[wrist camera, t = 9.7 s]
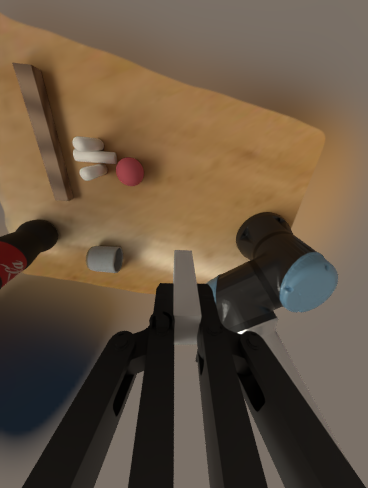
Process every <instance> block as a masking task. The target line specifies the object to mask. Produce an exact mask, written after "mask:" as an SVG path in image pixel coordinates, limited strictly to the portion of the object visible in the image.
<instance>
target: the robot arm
mask: <svg viewBox="0 0 368 488" xmlns="http://www.w3.org/2000/svg"><path fill="white" fill-rule="evenodd" d="M236 244H237V247H238V249H239V250H240V252H241V253H242V254H243V255H244V256H245V257H246V258H248V259H250V260H251V261H248V262H246V263H244V264H242V265H240V266H238V267H236V268H234V269H232V270H230V271H228V272H225V273H223V274H220V275H218V276H217V277H215V278H214V279H212V280H210V281H208V282H207V283H206V284H197V282H196V276H195V269H194V263H193V256H192V251H187V250H175V252H174V272H173V283H160V284H159V286H158V287H157V289H156V297H155V304H154V312H153V314H152V315H151V317H150V320H149V322H150V325H149V326H148V328H146V329H145V330H143V331H141V332H137V333H134V334H132V333H131V332H129V331H121V332H118V333H117V334H115V335H114V336H112V338H111V339H110V340H109V342H108V343H107V345H106V347H105V348H104V350H103V352H102V353H101V355H100V357H99V359H98V360H97V362H96V363H95V365H94V367H93V369H92V370H91V372H90V374H89V376H88V377H87V379H86V380H85V382H84V384H83V385H82V387H81V389H80V390H79V392H78V394H77V396H76V397H75V399H74V401H73V402H72V404H71V406H70V407H69V409H68V411H67V412H66V414H65V416H64V418H63V419H62V421H61V423H60V424H59V426H58V428H57V429H56V431H55V433H54V434H53V436H52V438H51V439H50V441H49V443H48V444H47V446H46V448H45V450H44V451H43V453H42V455H41V457H40V458H39V460H38V462H37V463H36V465H35V467H34V468H33V470H32V471H31V473H30V475H29V477H28V478H27V480H26V482H25V483H24V485H23V487H22V488H94V485H95V483H96V480H97V478H98V475H99V472H100V470H101V467H102V464H103V462H104V459H105V456H106V454H107V451H108V448H109V446H110V443H111V440H112V438H113V435H114V433H115V430H116V428H117V425H118V422H119V419H120V417H121V414H122V412H123V409H124V407H125V404H126V401H127V399H128V396H129V393H130V391H131V388H132V385H133V383H134V380H135V378H136V375H137V373H139V372H142V371H144V376H143V383H142V391H141V398H140V405H139V412H138V419H137V427H136V433H135V441H134V449H133V455H132V463H131V470H130V477H129V484H128V488H173V477H174V476H173V475H174V458H173V457H174V345H196V343H197V346H198V350H197V355H196V362H198V369H199V381H200V391H201V400H202V410H203V421H204V431H205V441H206V452H207V462H208V472H209V482H210V488H268V487H267V483H266V479H265V475H264V472H263V468H262V464H261V461H260V457H259V453H258V450H257V446H256V442H255V438H254V434H253V431H252V427H251V423H250V419H249V416H248V412H247V408H246V404H245V401H246V403H247V405H248V407H249V410H250V412H251V414H252V416H253V418H254V420H255V423H256V425H257V427H258V429H259V431H260V434H261V435H262V438H263V440H264V442H265V445H266V447H267V449H268V451H269V453H270V456H271V458H272V460H273V462H274V464H275V467H276V469H277V471H278V473H279V475H280V478H281V480H282V482H283V484H284V486H285V488H366V487H365V486H364V484H363V483H362V481H361V480H360V478H359V477H358V475H357V474H356V473H355V471H354V470H353V468H352V467H351V465H350V464H349V462H348V460H347V459H346V457H345V455H344V453H343V451H342V450H341V448H340V446H339V444H338V442H337V440H336V439H335V437H334V435H333V433H332V431H331V430H330V428H329V426H328V424H327V422H326V421H325V419H324V417H323V416H322V413H321V412H320V410H319V408H318V406H317V404H316V402H315V401H314V399H313V397H312V395H311V393H310V392H309V390H308V388H307V386H306V384H305V383H304V381H303V379H302V377H301V375H300V374H299V372H298V370H297V368H296V366H295V364H294V363H293V361H292V359H291V357H290V355H289V354H288V352H287V350H286V348H285V346H284V345H283V343H282V341H281V339H280V337H279V336H278V334H277V332H276V325H277V321H278V318H277V317H276V315H275V313H274V311H273V310H275V309H277V308H280V307H282V306H283V307H285V308H286V309H288V310H289V311H291V312H298V311H299V312H306V311H309V310H311V309H314V308H316V307H318V306H319V305H321V304H322V303H324V302H325V301H326V300H327V299H328V298H329V297H330V296H331V294H332V293H333V291H334V290H335V288H336V286H337V282H338V274H337V271H336V269H335V268H334V266H333V265H332V264H330V263H329V262H328V261H327V260H326V259H325V258H324V257H323V255H321V254H320V253H318V252H316V251H315V250H313V249H312V248H311V247H309V246H308V245H307V244H305V243H303V241H301V240H300V239H298V238H297V237H296V236H294V235H293V233H292V231H291V229H290V227H289V224H288V223H287V222H286V220H285V219H283V218H282V217H280V216H279V215H277V214H275V213H270V212H265V213H260V214H256V215H254V216H252V217H250V218H249V219H248V220H246V221H245V222H244V223H243V224H242V226H241V227H240V228H239V230H238V233H237V236H236ZM243 396H244V397H243ZM244 399H245V401H244Z"/></svg>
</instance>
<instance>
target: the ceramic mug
mask: <svg viewBox="0 0 368 488" xmlns="http://www.w3.org/2000/svg"><path fill="white" fill-rule="evenodd" d="M122 262H123V252H122V249H121V247H112V246H94V247H91V248H90V249H89V250H88V252H87V255H86V265H87V267H88V268H89V269H90V270H93V271H102V272H111V273H118V272H119V271H120V269H121V266H122Z"/></svg>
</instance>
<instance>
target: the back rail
mask: <svg viewBox="0 0 368 488" xmlns="http://www.w3.org/2000/svg"><path fill="white" fill-rule="evenodd" d="M13 67H14V70H15V73H16V76H17V79H18V83H19V86H20V89H21V92H22V95H23V99H24V102H25V105H26V108H27V111H28V114H29V118H30V121H31V124H32V127H33V130H34V134H35V137H36V140H37V143H38V146H39V150H40V153H41V156H42V159H43V162H44V166H45V169H46V172H47V175H48V178H49V182H50V185H51V188H52V191H53V194H54V197H55V200H57V201H70V200H71V199H73V194H72V190H71V186H70V182H69V179H68V175H67V171H66V167H65V163H64V159H63V155H62V151H61V147H60V144H59V140H58V136H57V132H56V128H55V124H54V120H53V116H52V113H51V109H50V105H49V101H48V97H47V93H46V89H45V85H44V81H43V78H42V74H41V70H39V69H37V68H36V67H34V66H32V65H28V64H19V63H13Z"/></svg>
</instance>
